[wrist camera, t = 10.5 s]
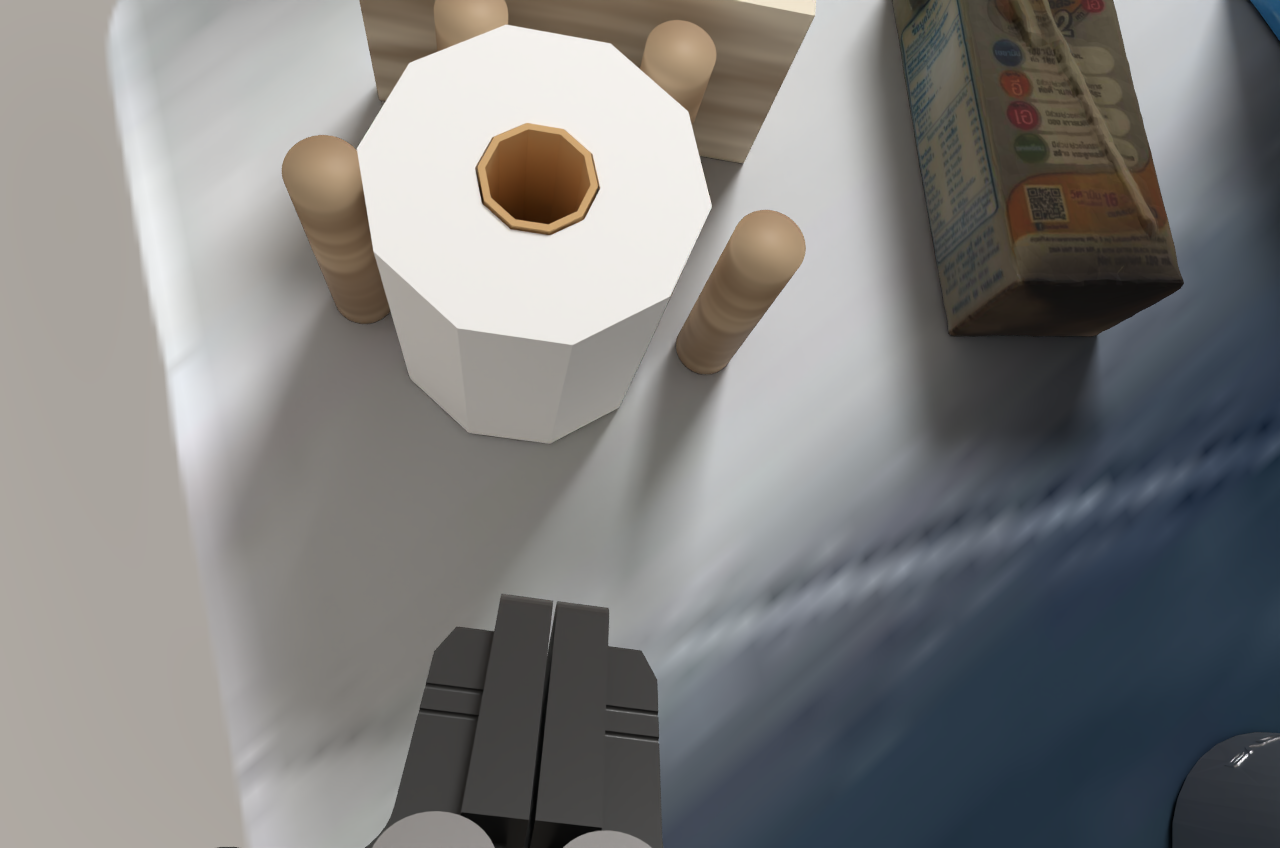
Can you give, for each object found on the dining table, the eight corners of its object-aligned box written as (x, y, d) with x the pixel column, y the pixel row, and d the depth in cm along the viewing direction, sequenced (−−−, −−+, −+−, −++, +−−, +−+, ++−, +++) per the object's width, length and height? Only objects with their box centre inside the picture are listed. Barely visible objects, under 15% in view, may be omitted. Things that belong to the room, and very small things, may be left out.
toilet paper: (515, 497, 38) (523, 416, 26) (344, 305, 39) (279, 146, 27) (699, 339, 41) (780, 204, 29) (535, 164, 41) (551, -34, 30)
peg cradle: (729, 378, 40) (803, 284, 31) (328, 318, 38) (274, 199, 29) (749, 140, 43) (822, -13, 34) (379, 74, 41) (345, -107, 32)
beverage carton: (1030, -13, 48) (1109, -114, 42) (1103, 344, 44) (1204, 289, 37) (882, -18, 47) (942, -124, 41) (942, 349, 42) (1019, 293, 36)
